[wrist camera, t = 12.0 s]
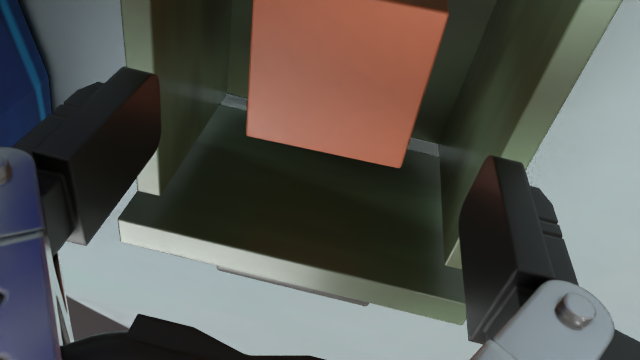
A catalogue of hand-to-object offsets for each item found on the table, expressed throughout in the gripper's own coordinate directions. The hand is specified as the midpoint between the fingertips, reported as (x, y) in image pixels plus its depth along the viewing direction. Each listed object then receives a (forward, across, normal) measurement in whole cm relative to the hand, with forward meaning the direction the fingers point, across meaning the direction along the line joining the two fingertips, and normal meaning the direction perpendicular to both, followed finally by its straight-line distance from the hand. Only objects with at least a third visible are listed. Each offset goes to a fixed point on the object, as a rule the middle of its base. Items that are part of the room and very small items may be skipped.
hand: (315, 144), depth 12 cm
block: (+8, 0, 0) cm, 8 cm away
